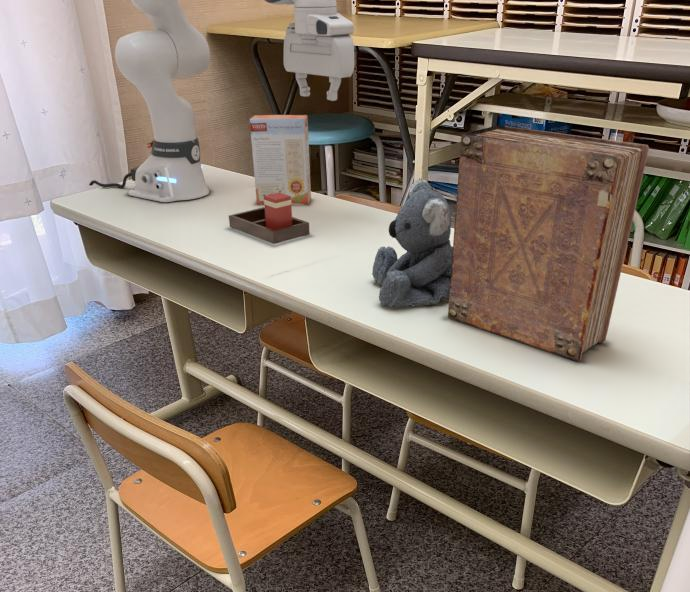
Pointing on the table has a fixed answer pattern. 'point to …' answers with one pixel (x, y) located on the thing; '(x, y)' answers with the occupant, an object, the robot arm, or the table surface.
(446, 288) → the koala plush
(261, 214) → the organiser
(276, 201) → the carton
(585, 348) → the book
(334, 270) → the table surface
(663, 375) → the table surface
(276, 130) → the cracker box
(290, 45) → the robot arm
